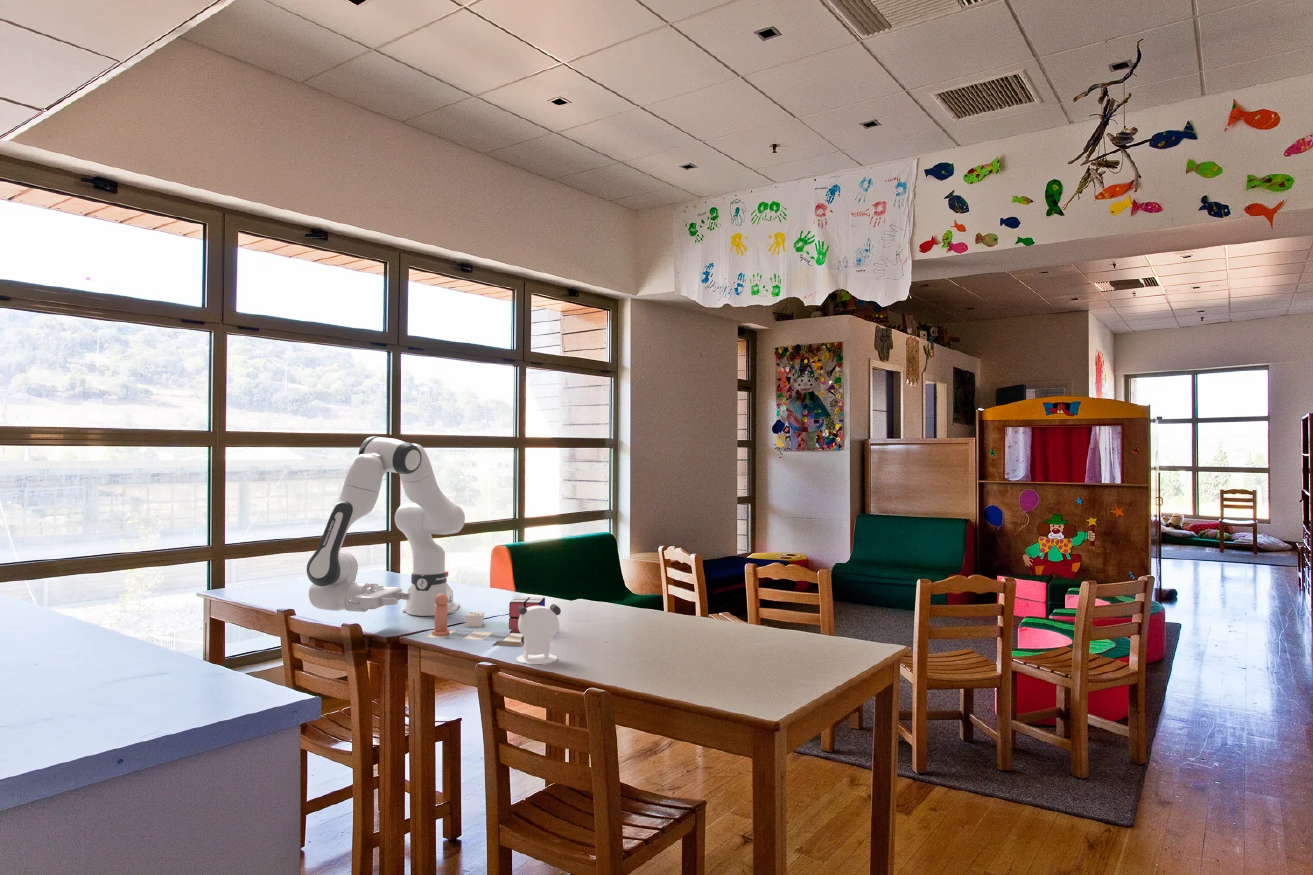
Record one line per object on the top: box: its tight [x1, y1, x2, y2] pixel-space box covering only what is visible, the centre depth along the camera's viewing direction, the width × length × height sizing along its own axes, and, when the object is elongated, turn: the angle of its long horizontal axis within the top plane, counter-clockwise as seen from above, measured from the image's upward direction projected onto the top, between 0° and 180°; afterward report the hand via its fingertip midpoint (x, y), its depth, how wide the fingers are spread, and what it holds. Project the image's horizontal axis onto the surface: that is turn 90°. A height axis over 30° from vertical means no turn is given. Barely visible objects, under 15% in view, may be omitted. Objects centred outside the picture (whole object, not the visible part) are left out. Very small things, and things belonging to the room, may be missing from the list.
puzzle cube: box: [508, 596, 546, 633], centre depth 263 cm, size 10×10×10 cm
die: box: [465, 611, 485, 628], centre depth 263 cm, size 5×5×5 cm
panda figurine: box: [515, 603, 562, 665], centre depth 227 cm, size 12×11×15 cm
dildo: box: [431, 593, 450, 636], centre depth 250 cm, size 5×5×12 cm
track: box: [425, 629, 524, 647], centre depth 248 cm, size 11×30×1 cm, turn 83°
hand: (403, 599), depth 251 cm, fingers open, 8 cm apart
